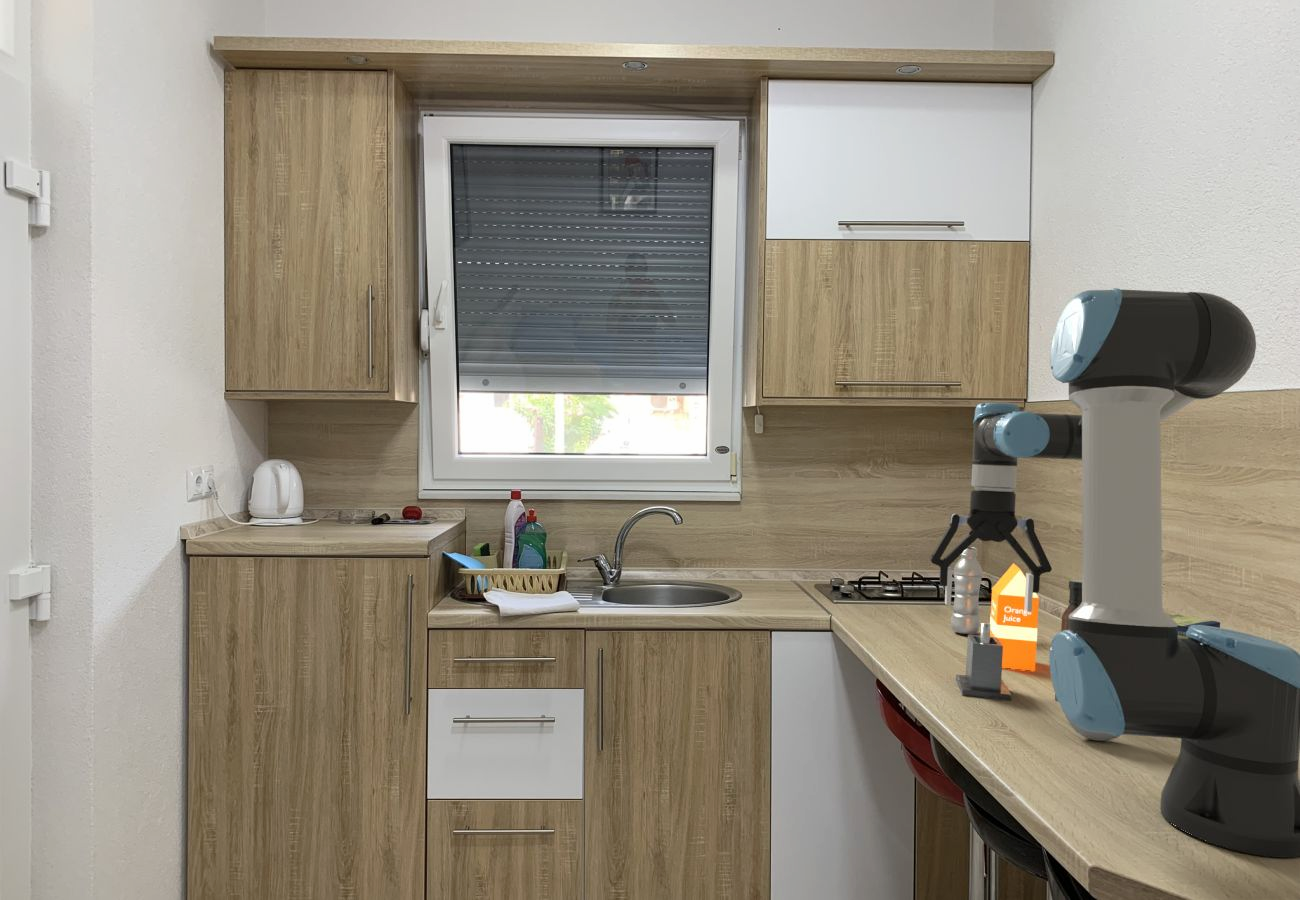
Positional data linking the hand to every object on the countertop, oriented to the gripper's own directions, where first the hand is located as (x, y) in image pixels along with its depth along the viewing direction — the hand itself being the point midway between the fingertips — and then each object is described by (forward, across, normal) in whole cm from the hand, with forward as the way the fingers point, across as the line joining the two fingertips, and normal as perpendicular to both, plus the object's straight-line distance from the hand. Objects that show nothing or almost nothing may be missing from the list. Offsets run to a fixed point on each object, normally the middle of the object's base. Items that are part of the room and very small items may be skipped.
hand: (987, 607), depth 157 cm
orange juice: (+15, -8, -23) cm, 28 cm away
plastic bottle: (+14, -2, -48) cm, 50 cm away
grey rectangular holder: (+14, 0, -1) cm, 14 cm away
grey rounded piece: (+16, -13, +21) cm, 30 cm away
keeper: (+15, 0, -1) cm, 15 cm away
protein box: (+15, -29, -5) cm, 33 cm away
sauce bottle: (+15, -17, -9) cm, 25 cm away
